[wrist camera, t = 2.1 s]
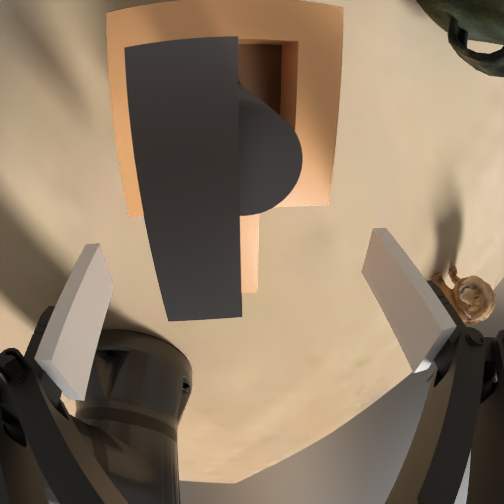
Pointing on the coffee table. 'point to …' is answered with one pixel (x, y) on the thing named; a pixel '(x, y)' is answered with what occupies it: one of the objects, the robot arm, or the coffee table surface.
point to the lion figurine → (468, 296)
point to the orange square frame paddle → (292, 85)
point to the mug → (472, 29)
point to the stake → (206, 161)
